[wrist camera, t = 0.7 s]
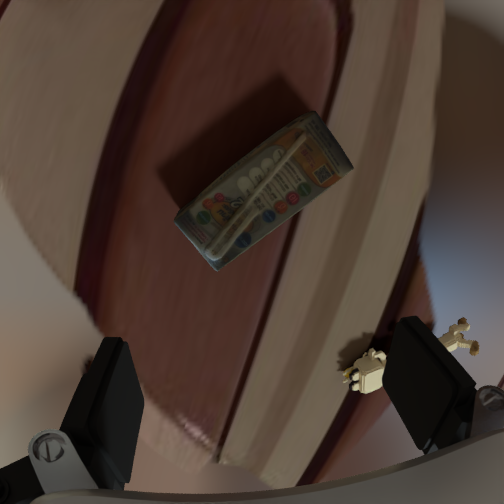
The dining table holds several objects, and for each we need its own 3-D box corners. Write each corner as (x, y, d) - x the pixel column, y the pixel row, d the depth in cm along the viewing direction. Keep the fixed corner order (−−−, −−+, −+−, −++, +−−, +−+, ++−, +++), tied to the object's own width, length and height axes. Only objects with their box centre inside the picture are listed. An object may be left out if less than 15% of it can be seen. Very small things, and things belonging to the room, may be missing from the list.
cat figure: (459, 303, 50) (339, 351, 47) (489, 325, 42) (363, 387, 39) (452, 344, 53) (341, 393, 51) (478, 368, 45) (361, 428, 43)
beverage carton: (176, 208, 38) (167, 222, 32) (302, 110, 36) (318, 105, 30) (217, 256, 41) (217, 277, 35) (340, 163, 38) (361, 168, 32)
